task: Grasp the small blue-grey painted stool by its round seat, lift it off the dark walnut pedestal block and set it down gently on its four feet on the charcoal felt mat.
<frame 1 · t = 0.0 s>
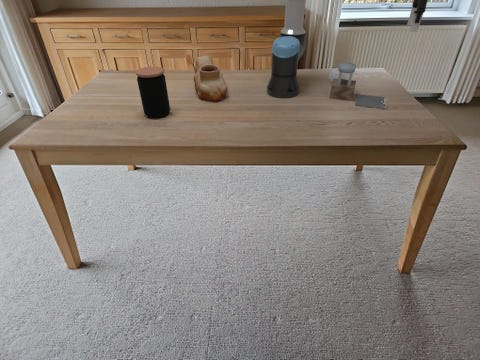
hand: (411, 28, 126), 28 cm above the table, fingers open, 13 cm apart
stool: (344, 83, 138), point 6 cm above the table, touching pedestal
ceramic vessel: (210, 92, 147), on the table
coffee jar: (157, 114, 128), on the table
pedestal: (341, 95, 142), on the table
mat: (371, 101, 136), on the table
geometric ball: (335, 83, 155), on the table
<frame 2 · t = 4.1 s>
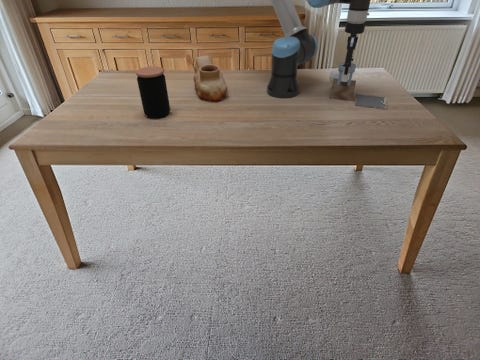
hand: (344, 78, 137), 8 cm above the table, fingers closed on stool, 7 cm apart
stool: (344, 83, 138), point 6 cm above the table, touching gripper, pedestal
everything else where it was.
when the fingers open (3 cm above the table, at t = 10.1 s): stool stays where it is, resting on mat.
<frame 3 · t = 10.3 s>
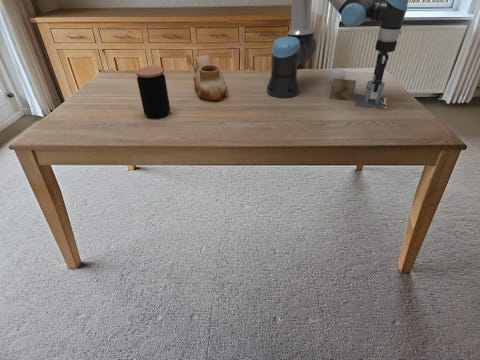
hand: (373, 94, 134), 3 cm above the table, fingers open, 10 cm apart
stool: (371, 100, 136), resting on mat
everything else where it was.
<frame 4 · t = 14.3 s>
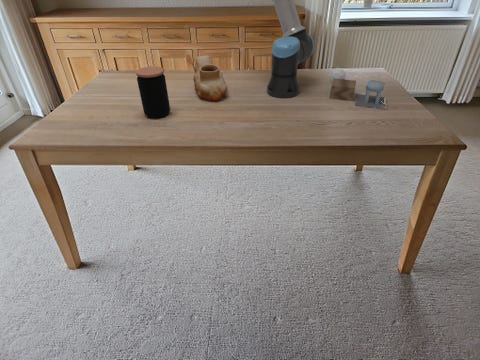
hand: (367, 5, 120), 37 cm above the table, fingers open, 13 cm apart
nothing on the table moved.
at the end: stool inside the target area on the mat (0.0 cm from its centre), point 0.4 cm above the mat's base; stool tilted 0°; the gripper is holding nothing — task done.
